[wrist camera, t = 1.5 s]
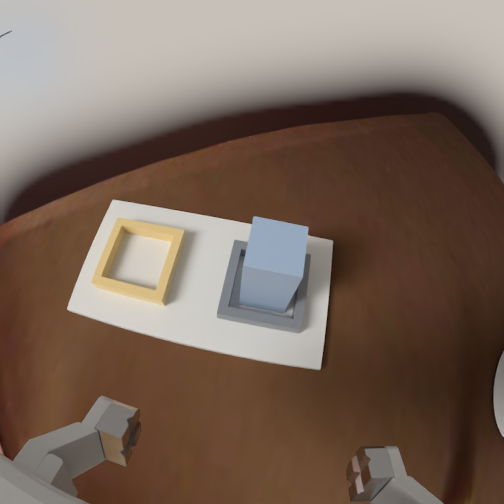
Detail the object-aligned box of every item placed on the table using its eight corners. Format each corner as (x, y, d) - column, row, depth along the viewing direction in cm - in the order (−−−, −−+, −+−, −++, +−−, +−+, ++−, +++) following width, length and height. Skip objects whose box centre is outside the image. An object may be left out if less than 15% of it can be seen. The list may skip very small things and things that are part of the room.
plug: (290, 267, 30) (309, 220, 23) (283, 313, 28) (302, 277, 21) (248, 259, 30) (255, 209, 23) (238, 304, 28) (242, 265, 21)
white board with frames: (331, 243, 32) (337, 233, 30) (318, 370, 26) (325, 367, 24) (114, 202, 33) (109, 191, 31) (69, 311, 27) (60, 304, 25)
